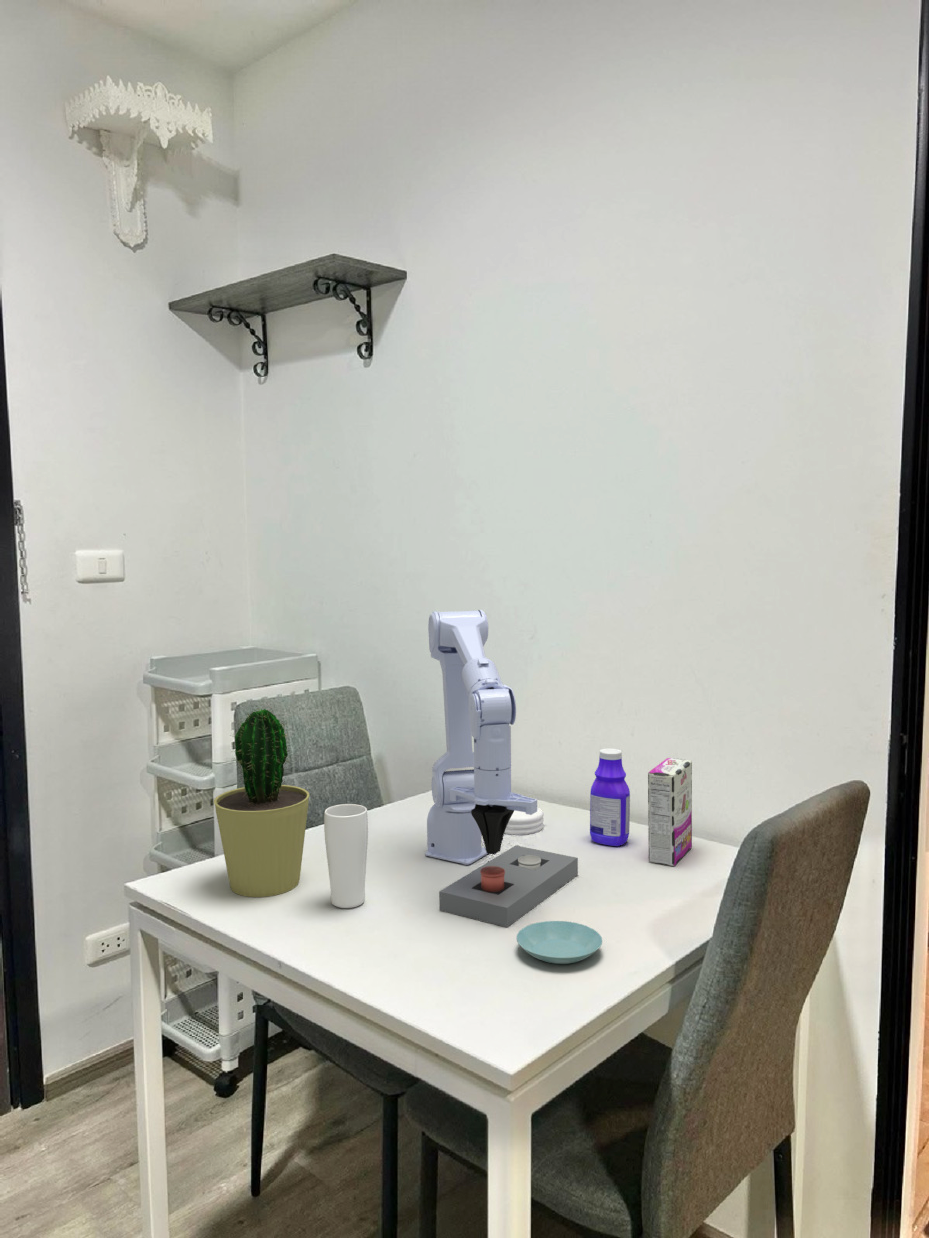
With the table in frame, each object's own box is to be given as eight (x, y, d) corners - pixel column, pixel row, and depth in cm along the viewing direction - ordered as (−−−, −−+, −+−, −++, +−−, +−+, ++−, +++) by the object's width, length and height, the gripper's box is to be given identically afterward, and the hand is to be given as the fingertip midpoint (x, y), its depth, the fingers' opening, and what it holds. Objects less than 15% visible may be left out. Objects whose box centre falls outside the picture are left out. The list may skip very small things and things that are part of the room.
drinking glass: (376, 897, 147) (374, 805, 146) (358, 913, 141) (356, 818, 139) (338, 892, 149) (336, 801, 148) (318, 908, 143) (316, 814, 141)
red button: (475, 888, 143) (475, 872, 142) (488, 880, 146) (488, 864, 146) (497, 893, 141) (496, 876, 140) (509, 885, 144) (509, 868, 144)
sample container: (514, 876, 153) (513, 860, 153) (524, 869, 156) (524, 853, 156) (534, 880, 151) (534, 864, 151) (544, 873, 154) (544, 857, 154)
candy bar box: (665, 843, 170) (666, 756, 169) (692, 847, 168) (693, 759, 166) (646, 862, 161) (646, 770, 159) (674, 867, 158) (675, 774, 157)
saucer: (515, 934, 133) (515, 919, 133) (597, 934, 133) (597, 919, 133) (517, 973, 122) (517, 957, 122) (607, 974, 121) (607, 957, 121)
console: (507, 927, 135) (507, 907, 135) (439, 910, 142) (439, 891, 141) (577, 874, 155) (577, 857, 155) (515, 861, 162) (515, 845, 162)
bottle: (633, 840, 172) (634, 749, 170) (622, 849, 167) (622, 756, 166) (598, 834, 176) (598, 744, 174) (585, 842, 171) (585, 751, 169)
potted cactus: (261, 861, 164) (256, 694, 161) (330, 876, 156) (325, 702, 153) (196, 890, 150) (189, 710, 147) (268, 909, 143) (262, 719, 140)
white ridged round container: (517, 816, 188) (517, 799, 188) (553, 827, 181) (553, 810, 180) (482, 827, 181) (481, 810, 181) (518, 839, 174) (518, 821, 174)
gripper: (438, 765, 142) (440, 851, 143) (521, 778, 134) (522, 868, 136) (463, 756, 148) (464, 838, 149) (543, 767, 140) (544, 854, 142)
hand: (493, 851), depth 143 cm, fingers closed
